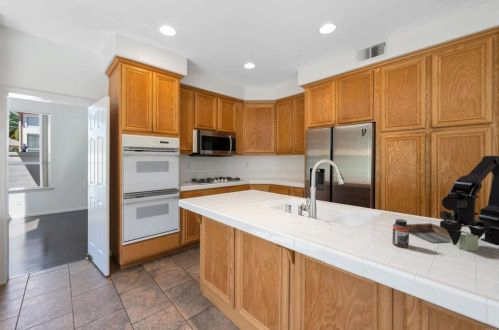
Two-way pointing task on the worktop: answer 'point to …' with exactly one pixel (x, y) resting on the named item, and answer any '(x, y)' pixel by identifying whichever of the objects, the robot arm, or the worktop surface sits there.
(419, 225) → the corner arena
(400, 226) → the supplement bottle
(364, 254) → the worktop surface
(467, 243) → the cube
